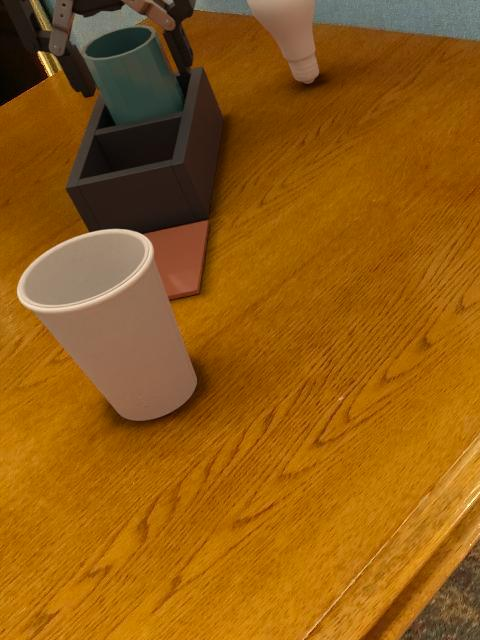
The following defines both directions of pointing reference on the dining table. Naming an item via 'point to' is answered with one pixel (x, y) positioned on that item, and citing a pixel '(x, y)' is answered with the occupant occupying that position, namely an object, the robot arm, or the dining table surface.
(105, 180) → the divided storage box
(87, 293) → the dixie cup
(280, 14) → the lightbulb
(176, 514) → the dining table surface
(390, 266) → the dining table surface
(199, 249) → the coaster
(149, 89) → the cup
